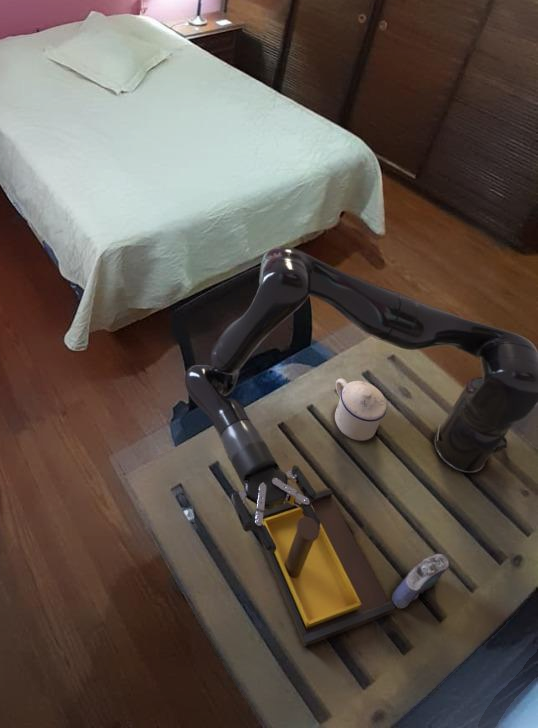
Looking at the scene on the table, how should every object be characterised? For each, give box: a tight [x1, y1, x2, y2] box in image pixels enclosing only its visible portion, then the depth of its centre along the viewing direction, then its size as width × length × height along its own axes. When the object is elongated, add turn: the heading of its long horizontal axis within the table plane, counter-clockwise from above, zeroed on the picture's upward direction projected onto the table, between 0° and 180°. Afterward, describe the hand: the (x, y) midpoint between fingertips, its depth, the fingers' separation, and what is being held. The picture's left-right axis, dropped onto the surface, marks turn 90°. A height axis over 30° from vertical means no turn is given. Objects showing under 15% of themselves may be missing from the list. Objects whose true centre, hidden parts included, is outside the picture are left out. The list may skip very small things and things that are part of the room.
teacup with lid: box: [334, 378, 388, 442], centre depth 116 cm, size 12×9×12 cm
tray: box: [262, 505, 362, 629], centre depth 91 cm, size 10×16×18 cm, turn 15°
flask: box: [391, 553, 451, 610], centre depth 91 cm, size 9×3×11 cm, turn 117°
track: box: [251, 488, 396, 647], centre depth 97 cm, size 16×20×2 cm
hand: (296, 540), depth 91 cm, fingers open, 8 cm apart
